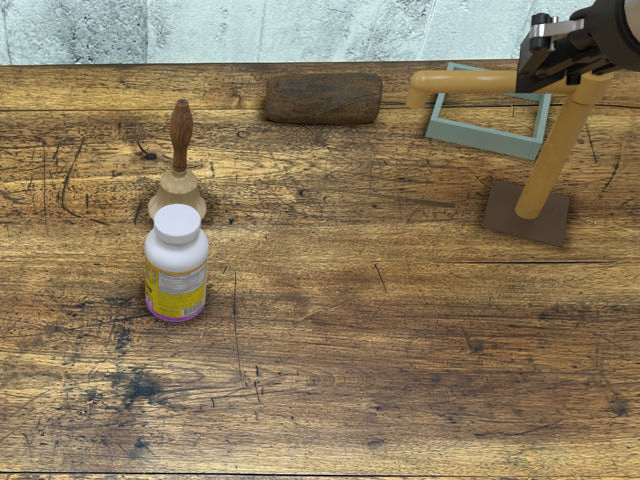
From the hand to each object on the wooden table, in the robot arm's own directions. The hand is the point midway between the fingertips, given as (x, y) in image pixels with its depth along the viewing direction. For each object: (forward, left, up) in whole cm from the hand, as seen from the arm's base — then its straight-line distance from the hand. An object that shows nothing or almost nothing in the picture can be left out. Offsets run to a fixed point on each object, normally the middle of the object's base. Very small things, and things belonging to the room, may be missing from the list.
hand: (524, 78), depth 77 cm
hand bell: (+32, +6, -23) cm, 40 cm away
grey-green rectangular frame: (0, -25, -22) cm, 34 cm away
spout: (+1, -5, -6) cm, 8 cm away
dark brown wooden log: (+21, -18, -23) cm, 36 cm away
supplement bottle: (+27, +20, -23) cm, 41 cm away
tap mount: (-7, -8, -22) cm, 25 cm away
